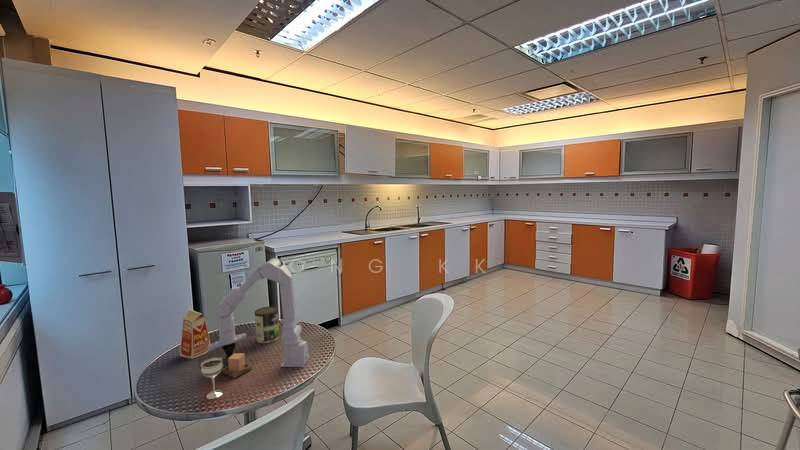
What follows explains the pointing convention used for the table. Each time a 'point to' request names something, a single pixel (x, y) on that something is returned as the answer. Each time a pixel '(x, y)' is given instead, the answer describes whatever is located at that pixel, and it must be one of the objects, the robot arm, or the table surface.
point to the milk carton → (194, 335)
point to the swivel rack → (226, 371)
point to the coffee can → (267, 324)
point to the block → (236, 362)
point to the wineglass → (212, 373)
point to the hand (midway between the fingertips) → (229, 360)
